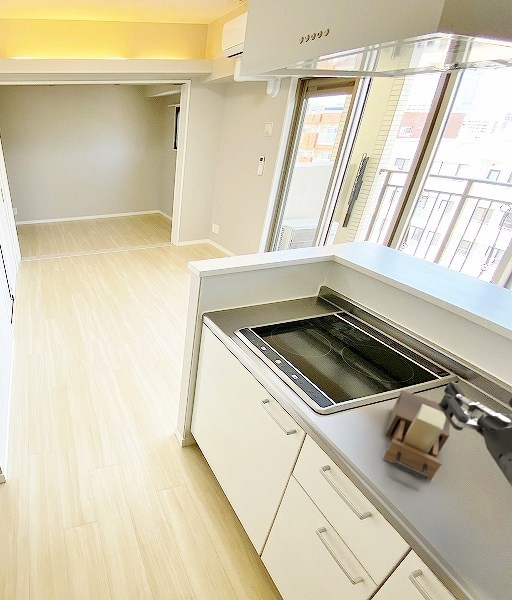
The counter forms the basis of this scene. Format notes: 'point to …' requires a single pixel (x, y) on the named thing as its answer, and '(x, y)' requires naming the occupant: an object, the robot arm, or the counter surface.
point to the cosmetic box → (425, 429)
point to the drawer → (412, 455)
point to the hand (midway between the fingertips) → (481, 392)
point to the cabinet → (413, 414)
